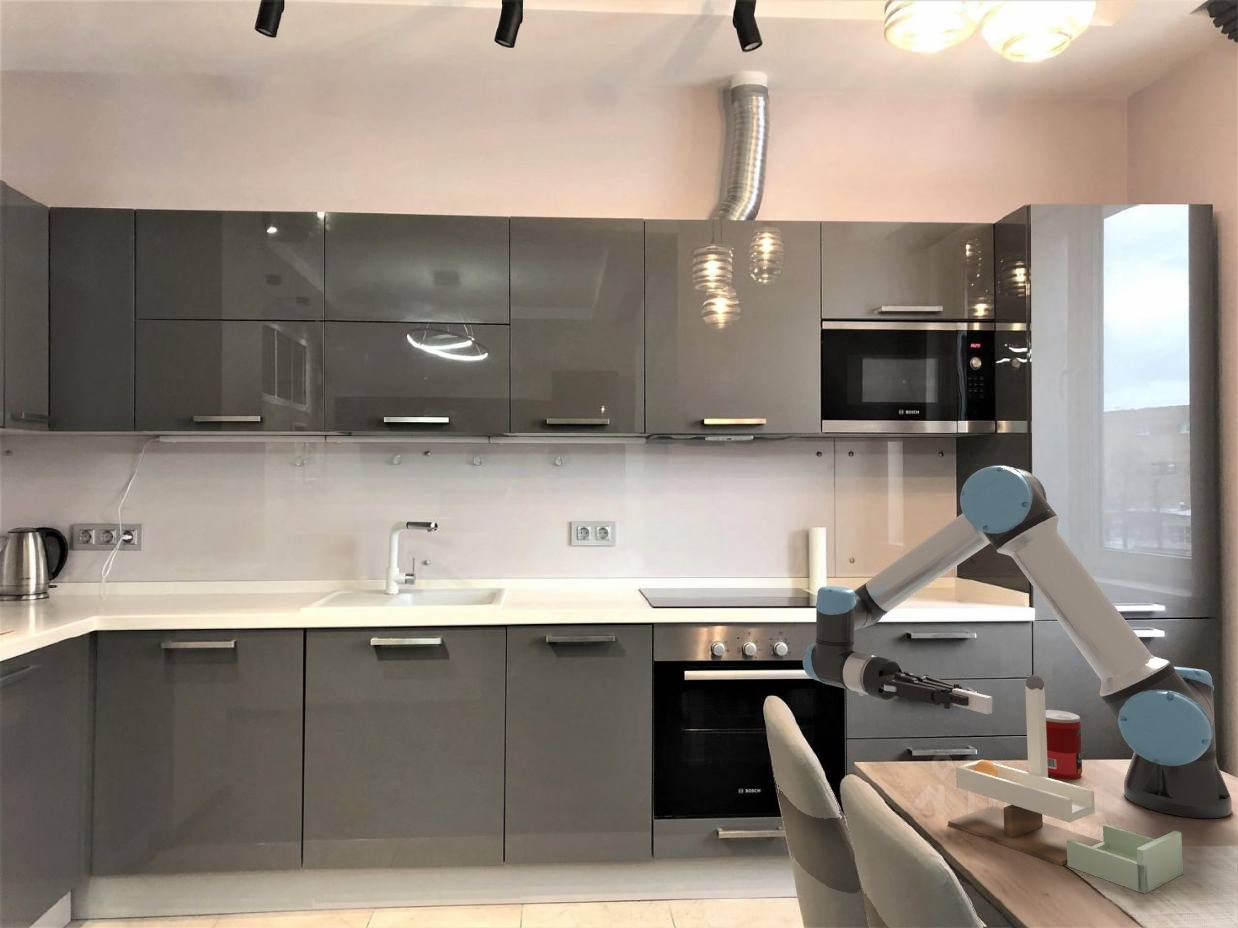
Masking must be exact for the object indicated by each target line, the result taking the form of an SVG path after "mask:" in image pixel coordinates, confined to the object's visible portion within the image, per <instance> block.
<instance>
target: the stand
mask: <svg viewBox="0 0 1238 928" xmlns="http://www.w3.org/2000/svg"><path fill="white" fill-rule="evenodd" d="M1043 820H1044V819H1043V814H1040V813H1037V812H1034V811H1031V810H1028V809H1024V808H1021V807H1018V806H1015V805H1012V804H1009V805H1007V806H1004V807H1003V808H999V807H997V806H994V805H991V806H988V807H985V808H982V809H979V810H977V811H973V812H971V813H968V814H964V815H962V816H958V817H955V818H953V819H950V820H948V821H947V825H948V826H950V827H953V828H956V829H958V830H961V831H964V832H967V833H970V834H972V835H975V836H978V837H980V838H984V839H987V840H989V841H992V842H994V843H998V844H1000V845H1003V846H1006V847H1009V848H1010V849H1014V850H1017V851H1019V852H1021V853H1025V854H1028V855H1031V856H1034V857H1036V858H1039V859H1042V860H1045V861H1047V862H1049V863H1053V864H1056V865H1058V866H1061V867H1063V866H1065V865H1067V840H1069V839H1070V840H1073V841H1076V842H1079V843H1082V844H1085V845H1088V846H1091V847H1092V846H1094V845H1096V844H1099V843H1101V842H1103V841H1104V840H1103V841H1102V840H1100V839H1099V840H1098V839H1097V838H1094V837H1090V836H1087V835H1084V834H1081V833H1078V832H1075V831H1072V830H1069V829H1065V828H1062V827H1059V826H1055V825H1053V824H1050V823H1046V822H1043Z"/></svg>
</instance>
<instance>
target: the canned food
mask: <svg viewBox="0 0 1238 928" xmlns="http://www.w3.org/2000/svg"><path fill="white" fill-rule="evenodd" d="M1045 711H1046V737H1047V764H1048V777H1050V778H1053V779H1054V778H1057V779H1063V780H1064V779H1065V780H1073V779H1074V780H1075V779H1078V778H1080V777H1081V776H1082V774H1083V757H1082V755H1083V754H1082V729H1081V728H1082V727H1081V717H1080V715H1078V714H1076V713H1073V712H1069V711H1065V710H1058V709H1057V710H1056V709H1045Z"/></svg>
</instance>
